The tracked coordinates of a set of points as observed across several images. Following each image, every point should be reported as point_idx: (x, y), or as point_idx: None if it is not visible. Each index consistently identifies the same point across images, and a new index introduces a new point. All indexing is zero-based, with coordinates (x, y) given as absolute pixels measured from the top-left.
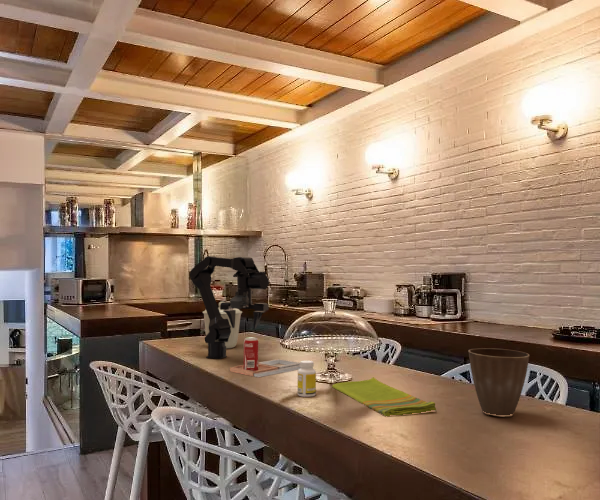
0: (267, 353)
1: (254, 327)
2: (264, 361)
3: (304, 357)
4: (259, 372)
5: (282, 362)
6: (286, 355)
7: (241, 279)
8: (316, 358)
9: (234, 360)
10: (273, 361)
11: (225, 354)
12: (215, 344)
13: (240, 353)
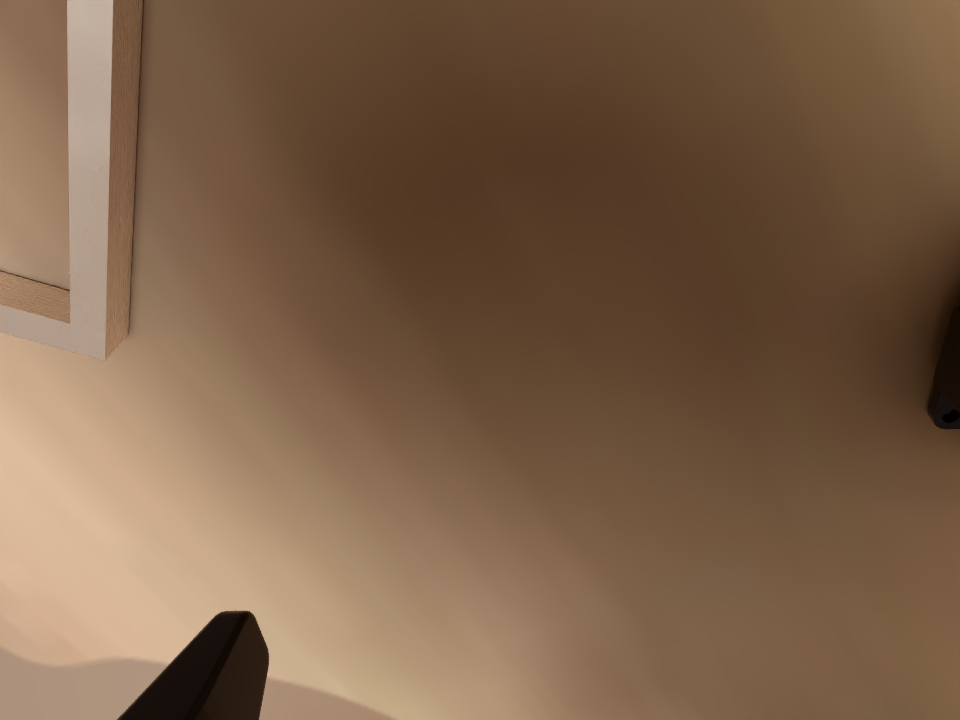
0: (564, 700)
1: (199, 644)
2: (103, 96)
3: (152, 653)
4: None
5: (15, 288)
6: (350, 677)
7: None
8: (36, 648)
9: (732, 249)
10: (76, 228)
11: (948, 377)
12: None
13: (831, 632)
